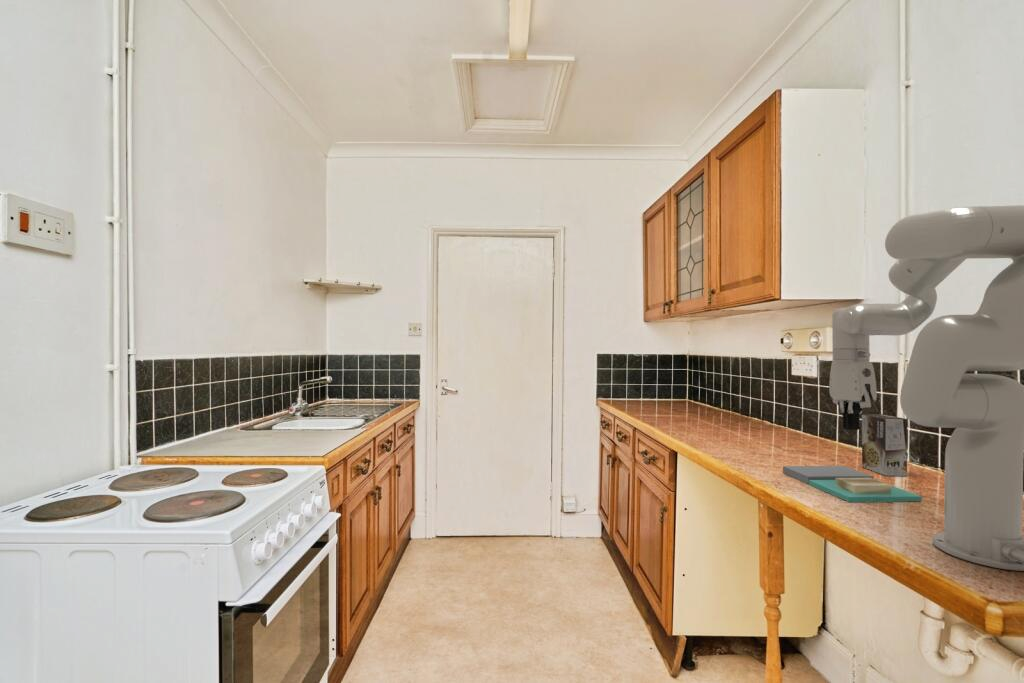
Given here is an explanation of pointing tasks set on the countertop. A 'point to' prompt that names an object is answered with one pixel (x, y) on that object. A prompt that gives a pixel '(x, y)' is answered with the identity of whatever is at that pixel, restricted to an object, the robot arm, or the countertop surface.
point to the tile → (863, 486)
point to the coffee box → (884, 444)
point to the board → (822, 473)
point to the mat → (895, 495)
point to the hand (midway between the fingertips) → (851, 428)
